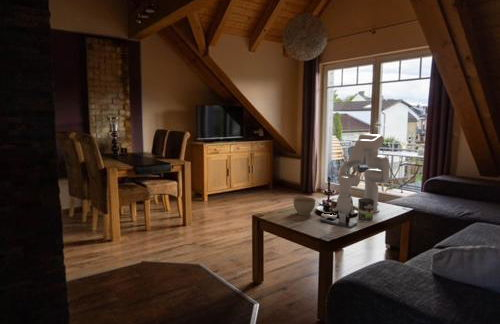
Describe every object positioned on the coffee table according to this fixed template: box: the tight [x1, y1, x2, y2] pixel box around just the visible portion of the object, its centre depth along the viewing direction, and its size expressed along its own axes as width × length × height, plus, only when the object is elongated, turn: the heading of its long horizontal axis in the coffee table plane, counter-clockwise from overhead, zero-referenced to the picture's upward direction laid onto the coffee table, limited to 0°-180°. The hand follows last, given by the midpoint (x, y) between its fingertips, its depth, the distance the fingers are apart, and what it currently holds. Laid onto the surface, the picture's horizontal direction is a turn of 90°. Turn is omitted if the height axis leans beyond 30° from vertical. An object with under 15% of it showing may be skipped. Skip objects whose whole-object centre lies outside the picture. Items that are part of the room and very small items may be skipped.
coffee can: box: [357, 198, 374, 223], centre depth 250 cm, size 10×10×14 cm
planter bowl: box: [292, 196, 316, 217], centre depth 264 cm, size 16×16×11 cm
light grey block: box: [338, 212, 349, 224], centre depth 241 cm, size 4×4×8 cm
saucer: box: [320, 212, 338, 218], centre depth 260 cm, size 11×11×1 cm
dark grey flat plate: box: [320, 216, 358, 229], centre depth 244 cm, size 9×22×2 cm, turn 47°
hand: (343, 221), depth 241 cm, fingers closed on light grey block, 4 cm apart
